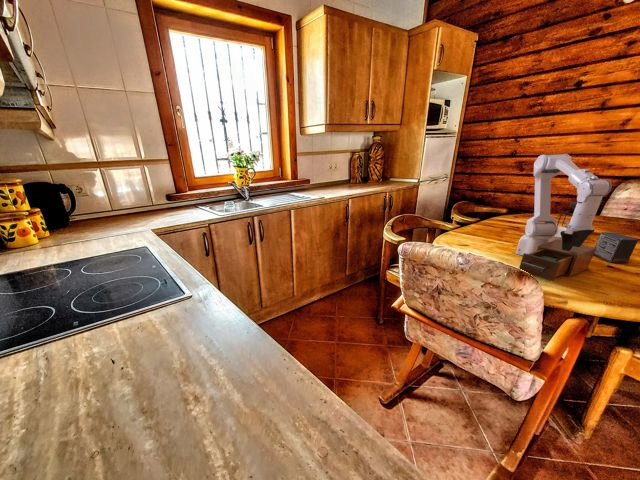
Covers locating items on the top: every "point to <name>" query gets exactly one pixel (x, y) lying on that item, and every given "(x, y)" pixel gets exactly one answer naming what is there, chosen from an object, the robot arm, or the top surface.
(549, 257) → the block
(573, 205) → the french press
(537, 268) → the drawer
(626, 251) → the small box
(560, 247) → the cabinet
